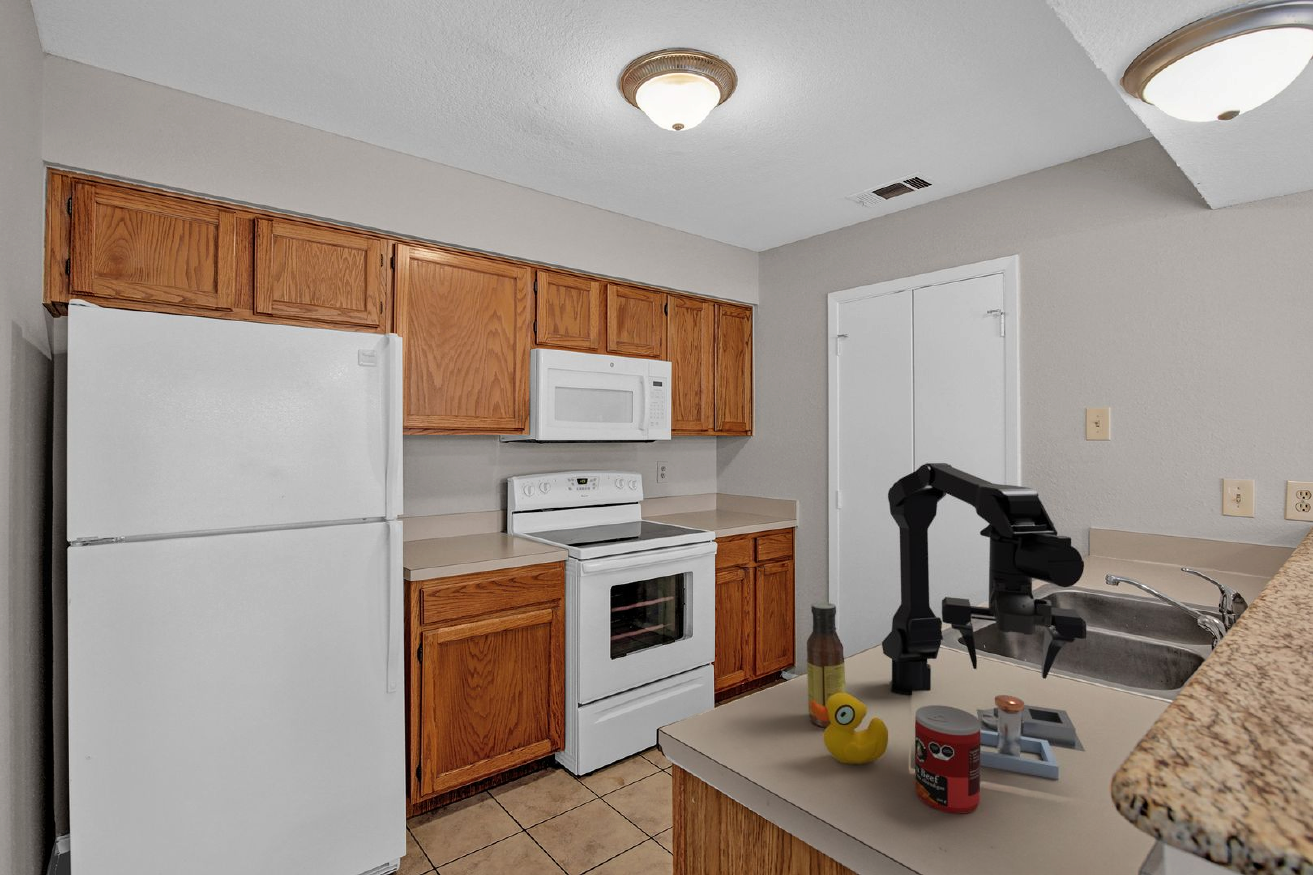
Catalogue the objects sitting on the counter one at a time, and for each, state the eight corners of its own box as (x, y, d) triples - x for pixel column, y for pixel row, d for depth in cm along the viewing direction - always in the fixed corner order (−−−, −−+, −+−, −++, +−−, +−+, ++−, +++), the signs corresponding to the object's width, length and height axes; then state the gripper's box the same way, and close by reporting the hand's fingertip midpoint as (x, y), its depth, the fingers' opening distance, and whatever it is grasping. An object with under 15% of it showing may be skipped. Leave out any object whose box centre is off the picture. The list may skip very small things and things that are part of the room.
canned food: (904, 783, 89) (905, 705, 89) (959, 780, 90) (959, 703, 90) (932, 816, 82) (933, 731, 82) (992, 813, 82) (993, 728, 82)
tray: (969, 768, 93) (969, 751, 93) (965, 742, 101) (965, 727, 101) (1058, 784, 89) (1058, 766, 89) (1047, 756, 97) (1047, 740, 97)
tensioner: (982, 739, 102) (982, 718, 102) (976, 713, 112) (976, 694, 111) (1085, 756, 97) (1085, 734, 97) (1070, 727, 106) (1070, 707, 106)
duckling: (812, 768, 93) (813, 700, 93) (807, 750, 99) (807, 686, 99) (892, 772, 92) (893, 703, 92) (882, 753, 98) (883, 688, 98)
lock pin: (996, 762, 94) (996, 703, 94) (993, 750, 98) (993, 693, 97) (1025, 767, 93) (1026, 707, 92) (1021, 755, 96) (1022, 697, 96)
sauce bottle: (848, 717, 110) (849, 602, 110) (843, 733, 104) (843, 611, 104) (810, 710, 113) (810, 598, 112) (802, 725, 107) (803, 607, 107)
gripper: (944, 576, 93) (942, 682, 93) (1097, 589, 85) (1094, 705, 86) (942, 561, 103) (940, 657, 103) (1078, 571, 96) (1076, 675, 96)
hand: (1008, 672), depth 97 cm, fingers open, 9 cm apart
